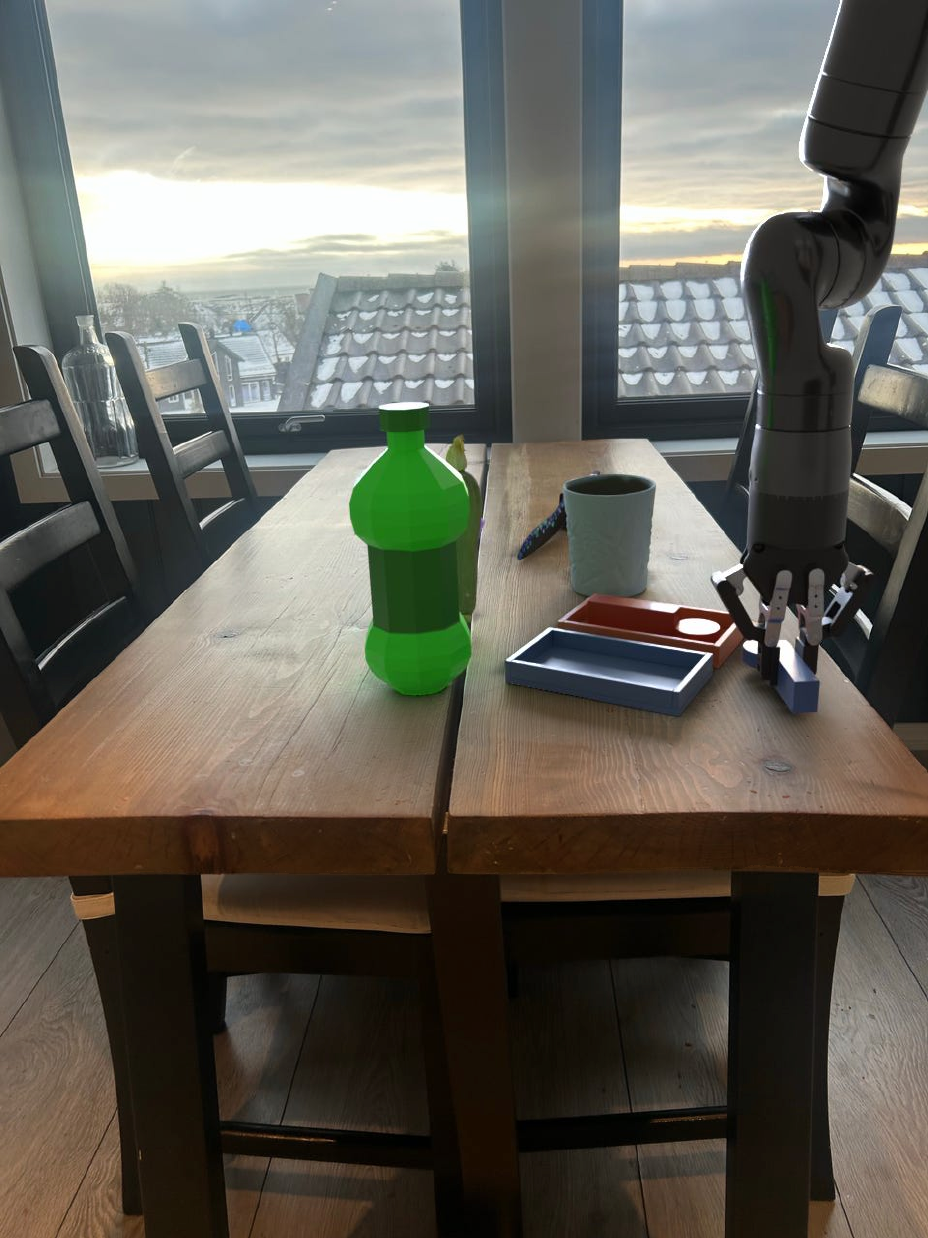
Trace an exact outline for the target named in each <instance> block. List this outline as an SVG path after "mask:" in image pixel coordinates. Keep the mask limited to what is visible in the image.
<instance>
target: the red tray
mask: <svg viewBox="0 0 928 1238" xmlns="http://www.w3.org/2000/svg"><path fill="white" fill-rule="evenodd" d="M595 595H599V596H606V597H613V598H620V599H627V600H634V601H642V602H649V603H656V604H663V605H670V606H677V607H680V621H681V620H685V619H705V620H710V621H713V622H715V623H717V624H718V625H719V626H720V628H721V629H720V639H719V640H718V641H717V642H716V643H715V644H714V643H708V642H702V641H695V640H689V639H682V638H676V637H670V636H663V635H657V634H650V633H644V632H638V631H631V630H625V629H618V628H612V627H605V626H599V625H593V624H587V601H588V600H589V599H591V598H592V597H593V596H595ZM557 629H563V630H569V631H575V632H581V633H588V634H594V635H600V636H606V637H612V638H619V639H625V640H631V641H637V642H644V643H650V644H656V645H662V646H668V647H675V648H681V649H687V650H693V651H699V652H706V653H712V654H713V669H720V668H721V666H722V665H723V664H724V662H725V661H726V660H727V659H728V657H730V655H731V654H732V653H733V651H735V649H736V648H737V647H738V646H739V645H740V643H741V642H742V641H743V639H745V638H744V637H743V636H742V634H741V633H740V631H739V630H738V628H737V627H736V625H735V623H734V622H733V620H732V618H731V616H730V615H729V613H728V611H725V610H717V609H710V608H703V607H696V606H688V605H683V604H674V603H666V602H659V601H652V600H646V599H637V598H631V597H617V596H610V595H603V594H596V593H594V594H593V595H592V596H590V597H589V596H588V597H587V598H586V599H585V600H583V602H581V603H580V604H579V605H577V606H575V607H574V608H573V609H572V610H571V611H569V612H568V613H566V614H565V615H564V616H562V617H560V619H558V620H557Z"/></svg>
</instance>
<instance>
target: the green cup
mask: <svg viewBox="0 0 928 1238" xmlns="http://www.w3.org/2000/svg"><path fill="white" fill-rule="evenodd" d="M589 475H590V474H589ZM589 475H586V476H585V475H584V476H579V477H576V478H572V479H570V480H567V481H566V482H564V484H563V486H562V493H563V495H564V504H565V511H566V514H567V518H566V521H567V526H566V530H567V538H568V541H567V544H568V555H569V567H570V580H571V587H572V589H573V590H574V592H576V593H577V594H580V595H583V596H586V597H588V598H589V597H590V596H592V595H593V594H594V593H596V594H603V595H610V596H617V597H625V598H631V597H634V596H638V595H639V594H642V593H643V592H645V590H646V589H647V585H648V578H649V577H648V576H649V568H648V566H649V562H650V554H651V549H650V547H651V543H652V542H651V540H652V529H653V518H654V517H653V516H654V507H655V499H656V491H657V483H656V482H655V481H654V480H652V479H651V478H649V477H645V476H640V475H634V474H625V473H602V474H601V473H600V475H590V476H589Z"/></svg>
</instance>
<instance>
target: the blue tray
mask: <svg viewBox="0 0 928 1238" xmlns="http://www.w3.org/2000/svg"><path fill="white" fill-rule="evenodd" d="M713 669H714V668H713V654H712V653H706V652H699V651H693V650H687V649H681V648H675V647H668V646H662V645H656V644H650V643H644V642H637V641H631V640H625V639H619V638H612V637H606V636H600V635H594V634H588V633H581V632H575V631H569V630H563V629H558V628H556V627H548V628H546V629H545V630H544V631H542V632H541V633H540V634H538V635H537V636H536V637H534V638H533V639H532V640H530V641H529V642H528V643H526V644H525V645H523V646H522V647H521V648H520V649H519V650H517V651H515V652H514V653H513V654H511V655H510V656H509V657H508V658H506V659H505V660H504V677H505V678H504V680H505V684H509V683H513V684H512V685H514V684H517V685H516V686H519V685H522V686H521V687H524V686H529V687H534V688H533V689H535V688H539V689H538V690H540V689H544V690H543V691H545V690H549V691H548V692H550V691H554V692H553V693H555V692H559V693H558V694H560V693H565V694H570V695H573V696H572V697H576V696H579V697H578V698H581V697H584V698H583V699H586V698H588V699H587V700H591V699H593V700H592V701H596V700H597V702H602V703H606V704H613V705H618V706H621V707H627V708H631V709H632V708H633V709H637V710H643V711H647V712H648V711H649V712H653V713H656V714H657V713H658V714H662V715H668V716H673V717H680V715H681V714H682V713H683V712H684V711H685V709H687V707H688V705H689V704H690V703H691V702H692V701H693V700H694V699H695V697H696V696H697V695H698V694H699V693H700V691H702V689H703V688H704V687H705V686H706V684H707V683H708V682H709V681H710V680H711V678H712V677H713V672H714V671H713ZM518 684H519V685H518ZM529 687H528V688H529ZM565 694H564V695H565ZM570 695H569V696H570Z"/></svg>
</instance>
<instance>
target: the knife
mask: <svg viewBox="0 0 928 1238" xmlns="http://www.w3.org/2000/svg"><path fill="white" fill-rule="evenodd" d="M600 474H601V472H600V470H593V471H592V472H591V473H590V474H589V475H588V476H590V475H600ZM566 518H567V514H566V511H565V504H564V495H563V492H561V493H559V497H558V506H557V507H556V509H555V510H554V511H553V512H552V514H550V515H549V516H548V517H547V518H546V519H545V520H544V521H542V522H541V523H540V524H539V525H537V526H536V527H535V528H534V529H533V530H531V532H530V533H529V534H528V535H527V537H526V538H525V540H524V542H523V543H522V545H521V547H520V549H519V552H518V554H517V556H516V559H517V561H521V560H525V559H527V558H528V557H529V556H530V557H531V555H533V554H534V553H535V552H537V551H538V550H539V549H541V547H543V546H545V544H546V543H548V542H549V541H550V540H551V539H552V537H554V536H555V535H556V534H557V533H558V532H559V531H560V530H561V529H562V528H563V527H567V521H566Z"/></svg>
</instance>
